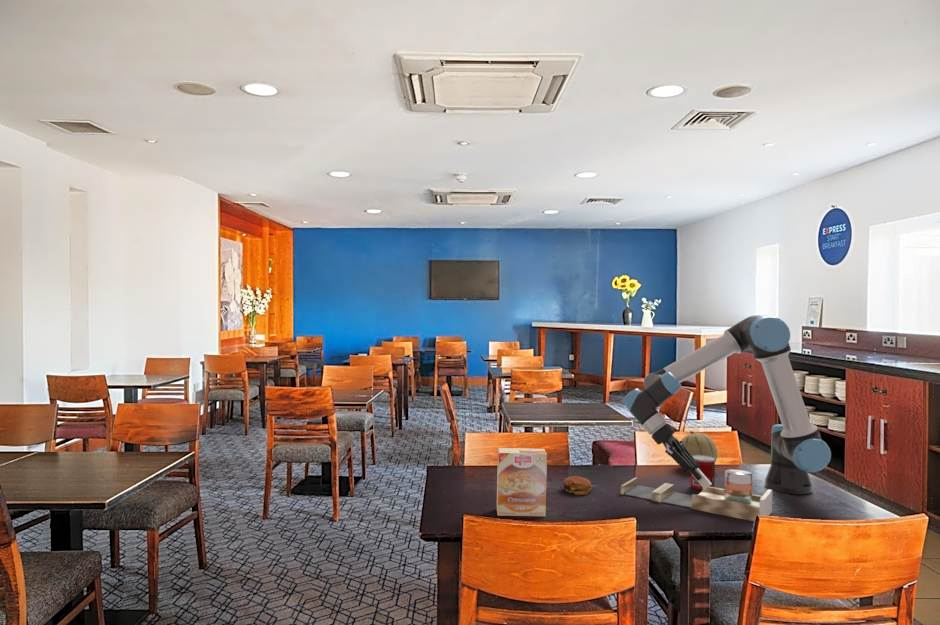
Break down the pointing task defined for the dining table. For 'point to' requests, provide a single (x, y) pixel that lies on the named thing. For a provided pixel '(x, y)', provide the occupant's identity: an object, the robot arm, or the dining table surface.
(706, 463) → the canned food
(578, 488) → the burger
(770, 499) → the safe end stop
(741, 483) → the tin
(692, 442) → the cantaloupe
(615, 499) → the dining table surface
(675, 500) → the tray
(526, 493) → the coffeecake box
